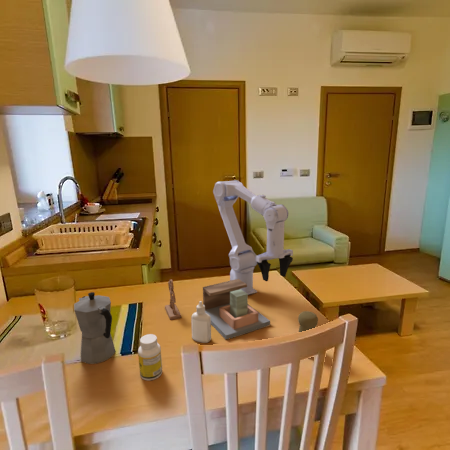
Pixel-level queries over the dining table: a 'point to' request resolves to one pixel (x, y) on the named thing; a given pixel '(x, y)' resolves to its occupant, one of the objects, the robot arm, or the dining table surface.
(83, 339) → the coffeepot
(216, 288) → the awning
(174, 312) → the brown statuette
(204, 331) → the eye dropper bottle
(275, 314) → the dining table surface
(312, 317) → the olive rounded piece
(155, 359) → the supplement bottle
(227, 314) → the socket stand
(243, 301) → the peg
